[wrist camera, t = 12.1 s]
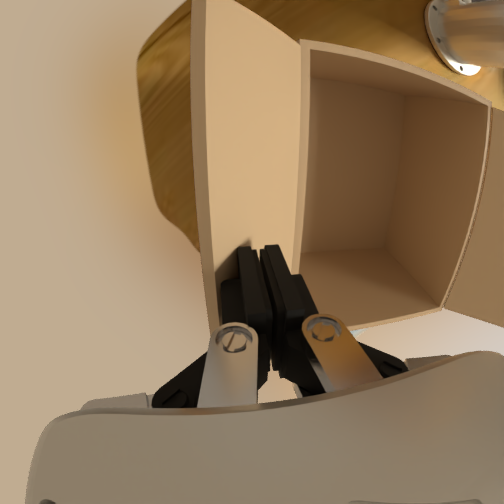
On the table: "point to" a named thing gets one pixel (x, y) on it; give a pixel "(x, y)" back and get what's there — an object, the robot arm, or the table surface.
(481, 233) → the back flap
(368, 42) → the table surface
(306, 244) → the carton
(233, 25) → the front flap
